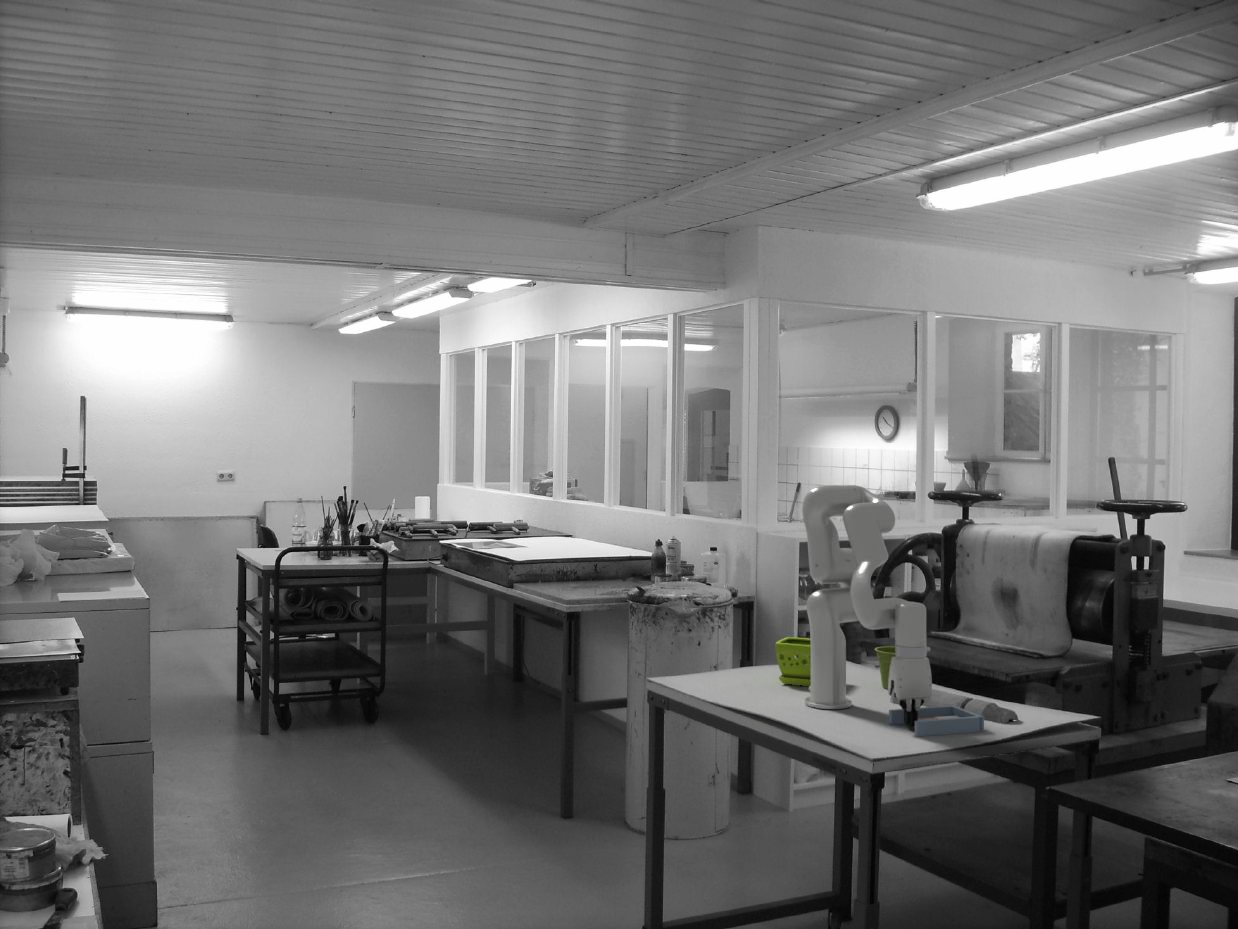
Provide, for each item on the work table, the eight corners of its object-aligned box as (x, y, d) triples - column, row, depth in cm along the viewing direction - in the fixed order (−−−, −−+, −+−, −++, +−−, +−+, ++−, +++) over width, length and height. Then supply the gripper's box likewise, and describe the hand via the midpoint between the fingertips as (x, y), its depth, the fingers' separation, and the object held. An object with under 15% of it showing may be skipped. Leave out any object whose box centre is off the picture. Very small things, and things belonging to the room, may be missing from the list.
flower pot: (819, 689, 311) (819, 646, 311) (773, 685, 317) (773, 642, 317) (831, 680, 324) (831, 639, 324) (787, 677, 330) (787, 635, 330)
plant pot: (899, 694, 305) (899, 654, 305) (866, 687, 314) (866, 649, 314) (924, 688, 312) (924, 650, 312) (891, 682, 322) (891, 644, 322)
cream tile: (934, 726, 269) (934, 716, 269) (956, 725, 270) (956, 715, 270) (946, 732, 263) (946, 722, 263) (968, 731, 264) (968, 721, 264)
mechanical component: (928, 684, 300) (1021, 705, 275) (928, 700, 300) (1021, 722, 275) (907, 688, 295) (999, 709, 270) (907, 704, 295) (999, 726, 270)
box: (889, 723, 271) (889, 710, 271) (953, 718, 276) (953, 705, 276) (917, 736, 258) (917, 722, 258) (983, 731, 263) (983, 717, 263)
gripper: (928, 648, 271) (928, 720, 271) (876, 651, 266) (876, 724, 267) (945, 653, 263) (945, 727, 263) (891, 656, 259) (891, 732, 259)
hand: (910, 726), depth 265 cm, fingers closed
